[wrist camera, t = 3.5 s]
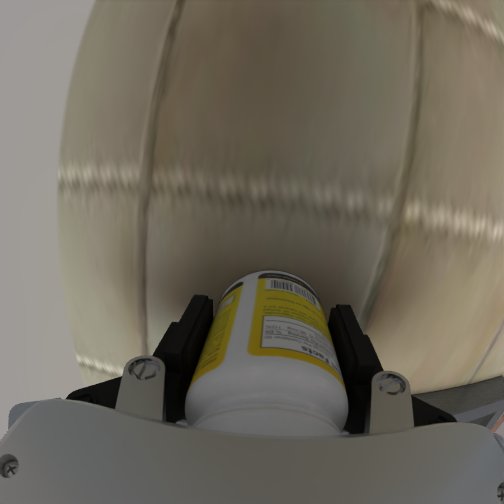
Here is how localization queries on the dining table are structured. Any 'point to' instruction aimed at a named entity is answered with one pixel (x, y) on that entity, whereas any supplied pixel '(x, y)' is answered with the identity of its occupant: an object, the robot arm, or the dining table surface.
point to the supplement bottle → (268, 363)
